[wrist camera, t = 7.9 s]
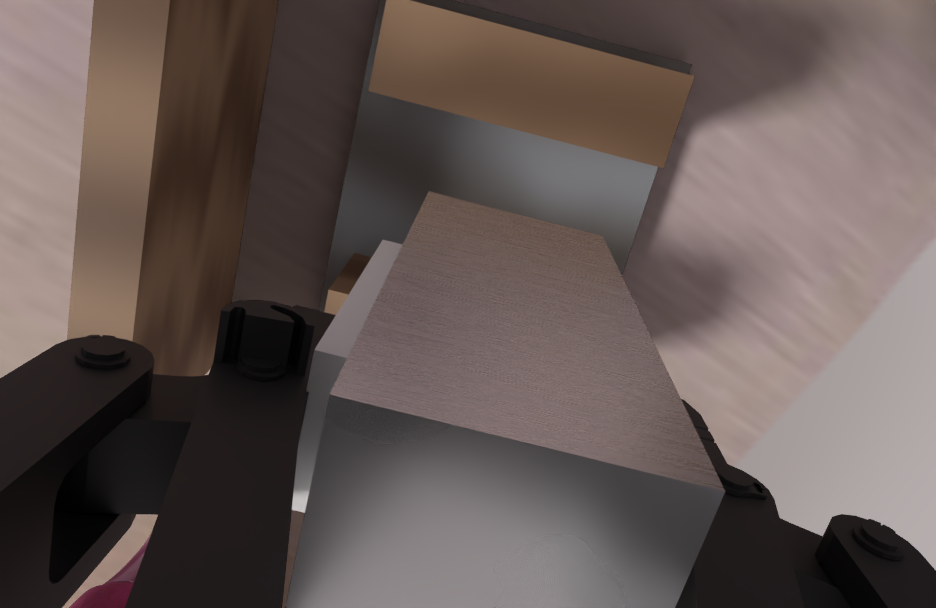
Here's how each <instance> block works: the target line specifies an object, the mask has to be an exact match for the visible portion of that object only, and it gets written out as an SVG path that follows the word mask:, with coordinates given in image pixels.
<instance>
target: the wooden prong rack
mask: <svg viewBox="0 0 936 608" xmlns="http://www.w3.org/2000/svg"><path fill="white" fill-rule="evenodd" d="M277 6H278V0H94V7H93V20H92V32H91V45H90V58H89V70H88V83H87V95H86V108H85V121H84V133H83V146H82V158H81V171H80V184H79V196H78V209H77V221H76V234H75V247H74V259H73V272H72V284H71V297H70V310H69V322H68V335H67V340H69V339H73V338H80V337H86V336H88V335H100V336H102V335H111V336H115V337H116V338H120V339H126V340H129V341H132V342H135V343H137V344H140V345H142V346H144V347H145V348H146V349H148V350H149V351H150V352H151V353H152V355H153V358H154V361H155V362H154V370H153V374H159V375H172V376H204V375H205V374H206V373H207V372H208V371H209V369H210V368H211V367H212V364H213V360H214V354H215V347H216V341H217V334H218V327H219V321H220V314H221V310H222V309H223V308H224V307H225V306H226V305H227V304H230V303H231V302H232V296H233V290H234V283H235V277H236V270H237V264H238V257H239V251H240V244H241V238H242V231H243V225H244V219H245V212H246V206H247V199H248V193H249V186H250V180H251V173H252V167H253V161H254V154H255V148H256V141H257V135H258V128H259V122H260V115H261V109H262V103H263V96H264V90H265V83H266V77H267V70H268V64H269V57H270V51H271V45H272V38H273V32H274V25H275V19H276V12H277ZM691 67H692V64H688V63H684V62H680V61H677V60H673V59H669V58H666V57H662V56H658V55H654V54H651V53H647V52H643V51H639V50H636V49H632V48H628V47H625V46H621V45H617V44H613V43H610V42H606V41H602V40H598V39H595V38H591V37H587V36H584V35H580V34H576V33H572V32H569V31H565V30H561V29H557V28H554V27H550V26H546V25H543V24H539V23H535V22H531V21H528V20H524V19H520V18H516V17H513V16H509V15H505V14H502V13H498V12H494V11H490V10H487V9H483V8H479V7H475V6H472V5H468V4H464V3H460V2H457V1H453V0H380V1H379V6H378V11H377V16H376V21H375V26H374V31H373V36H372V42H371V47H370V52H369V57H368V62H367V67H366V72H365V77H364V82H363V87H362V92H361V97H360V103H359V108H358V113H357V118H356V123H355V128H354V133H353V138H352V143H351V148H350V153H349V158H348V164H347V169H346V174H345V179H344V184H343V189H342V194H341V199H340V204H339V209H338V214H337V219H336V225H335V230H334V235H333V240H332V245H331V250H330V255H329V260H328V265H327V270H326V275H325V280H324V285H323V291H322V296H321V301H320V306H319V311H322V312H326V313H330V314H334V315H336V314H337V313H338V311H339V309H340V308H341V306H342V305H343V303H344V301H345V300H346V298H347V297H348V295H349V293H350V292H351V290H352V288H353V287H354V285H355V284H356V282H357V280H358V279H359V277H360V276H361V274H362V272H363V271H364V269H365V268H366V266H367V264H368V263H369V261H370V259H371V258H372V256H373V255H374V253H375V251H376V250H377V248H378V247H379V245H380V243H381V242H382V240H387V241H391V242H395V243H398V244H402V245H403V243H404V241H405V239H406V237H407V235H408V233H409V231H410V229H411V227H412V224H413V222H414V220H415V218H416V216H417V214H418V212H419V210H420V208H421V206H422V204H423V202H424V200H425V198H426V196H427V194H428V192H433V193H437V194H441V195H445V196H449V197H453V198H457V199H461V200H464V201H468V202H472V203H476V204H480V205H484V206H488V207H492V208H496V209H500V210H503V211H507V212H511V213H515V214H519V215H523V216H527V217H531V218H535V219H538V220H542V221H546V222H550V223H554V224H558V225H562V226H566V227H570V228H573V229H577V230H581V231H585V232H589V233H593V234H597V235H601V236H603V238H604V240H605V242H606V244H607V246H608V248H609V250H610V252H611V254H612V257H613V259H614V261H615V263H616V265H617V267H618V269H619V271H620V273H621V275H622V273H623V270H624V267H625V264H626V261H627V258H628V255H629V252H630V249H631V246H632V243H633V240H634V237H635V234H636V231H637V228H638V225H639V223H640V220H641V217H642V214H643V211H644V208H645V205H646V202H647V199H648V196H649V193H650V190H651V187H652V184H653V181H654V178H655V175H656V172H657V169H658V167H660V168H664V166H665V163H666V160H667V157H668V154H669V151H670V148H671V145H672V142H673V139H674V136H675V133H676V130H677V127H678V124H679V121H680V118H681V115H682V112H683V109H684V106H685V103H686V100H687V97H688V94H689V91H690V88H691V85H692V82H693V79H694V76H691V75H689V73H690V70H691Z"/></svg>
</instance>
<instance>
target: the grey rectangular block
mask: <svg viewBox="0 0 936 608" xmlns="http://www.w3.org/2000/svg"><path fill="white" fill-rule="evenodd" d="M724 494H725V490H724V487H723V485H722V483H721V481H720V479H719V477H718V475H717V473H716V471H715V469H714V467H713V465H712V462H711V460H710V458H709V456H708V454H707V452H706V450H705V448H704V446H703V444H702V442H701V440H700V438H699V435H698V433H697V431H696V429H695V427H694V425H693V423H692V421H691V419H690V417H689V415H688V413H687V410H686V408H685V406H684V404H683V402H682V400H681V398H680V396H679V394H678V392H677V390H676V388H675V386H674V383H673V381H672V379H671V377H670V375H669V373H668V371H667V369H666V367H665V365H664V363H663V361H662V358H661V356H660V354H659V352H658V350H657V348H656V346H655V344H654V342H653V340H652V338H651V336H650V334H649V331H648V329H647V327H646V325H645V323H644V321H643V319H642V317H641V315H640V313H639V311H638V309H637V306H636V304H635V302H634V300H633V298H632V296H631V294H630V292H629V290H628V288H627V286H626V284H625V282H624V279H623V277H622V275H621V273H620V271H619V269H618V267H617V265H616V263H615V261H614V259H613V257H612V254H611V252H610V250H609V248H608V246H607V244H606V242H605V240H604V238H603V236H601V235H597V234H593V233H589V232H585V231H581V230H577V229H573V228H570V227H566V226H562V225H558V224H554V223H550V222H546V221H542V220H538V219H535V218H531V217H527V216H523V215H519V214H515V213H511V212H507V211H503V210H500V209H496V208H492V207H488V206H484V205H480V204H476V203H472V202H468V201H464V200H461V199H457V198H453V197H449V196H445V195H441V194H437V193H433V192H428V194H427V196H426V198H425V200H424V202H423V204H422V206H421V208H420V210H419V212H418V214H417V216H416V218H415V220H414V222H413V224H412V227H411V229H410V231H409V233H408V235H407V237H406V239H405V241H404V243H403V245H402V247H401V249H400V251H399V253H398V255H397V257H396V259H395V261H394V263H393V265H392V267H391V269H390V272H389V274H388V276H387V278H386V280H385V282H384V284H383V286H382V288H381V290H380V292H379V294H378V296H377V298H376V300H375V302H374V304H373V306H372V308H371V310H370V312H369V315H368V317H367V319H366V321H365V323H364V325H363V327H362V329H361V331H360V333H359V335H358V337H357V339H356V341H355V343H354V345H353V347H352V349H351V351H350V353H349V355H348V357H347V360H346V362H345V364H344V366H343V368H342V370H341V372H340V374H339V376H338V378H337V380H336V382H335V384H334V386H333V388H332V390H331V392H330V394H329V399H328V404H327V409H326V413H325V418H324V423H323V428H322V433H321V437H320V442H319V447H318V452H317V457H316V462H315V466H314V471H313V476H312V481H311V486H310V490H309V495H308V500H307V505H306V510H305V515H304V519H303V524H302V529H301V534H300V539H299V544H298V548H297V553H296V558H295V563H294V568H293V572H292V577H291V582H290V587H289V592H288V597H287V601H286V606H285V608H675V607H676V604H677V602H678V600H679V597H680V595H681V593H682V591H683V588H684V586H685V584H686V581H687V579H688V577H689V574H690V572H691V570H692V567H693V565H694V563H695V561H696V558H697V556H698V554H699V551H700V549H701V547H702V544H703V542H704V540H705V537H706V535H707V533H708V530H709V528H710V526H711V524H712V521H713V519H714V517H715V514H716V512H717V510H718V507H719V505H720V503H721V500H722V498H723V496H724Z"/></svg>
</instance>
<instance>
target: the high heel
mask: <svg viewBox="0 0 936 608" xmlns="http://www.w3.org/2000/svg"><path fill="white" fill-rule="evenodd" d="M151 533H152V532H151ZM150 536H151V534H150ZM150 536H149V538H148V539H147V541H146V542H145V544H144V545H143V546H142V547H141V549H140V550H139V551H138V552H137V554H136V555H135V556H134V557H133V558H132V559H131V560H130V561H129V562H128V563H127V565H126V566H125V567H124V568H123V569H121V570H120V571H119V572H118V573H117V574H116V575H115V576H114V577H112V578H111V579H110V580H109V581H107V582H106V583H105V584H103V585H100V586H96V587H93V588H91V589H89V590H88V591H86V592H85V593H84V594H83V595H81V596H80V597H79V598H78V599H77V600H76V601H75V602H74V603H73V604H72V605H71V606H70V607H69V608H125V606H126V603H127V600H128V597H129V594H130V592H131V589H132V586H133V583H134V581H135V578H136V575H137V572H138V570H139V567H140V564H141V561H142V558H143V556H144V553H145V550H146V547H147V545H148V542H149V539H150Z"/></svg>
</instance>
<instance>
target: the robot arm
mask: <svg viewBox="0 0 936 608" xmlns="http://www.w3.org/2000/svg"><path fill="white" fill-rule="evenodd" d="M401 247H402V244H398V243H395V242H391V241H387V240H382V242H381V243H380V245H379V247H378V248H377V250H376V251H375V253H374V255H373V256H372V258H371V259H370V261H369V263H368V264H367V266H366V268H365V269H364V271H363V272H362V274H361V276H360V277H359V279H358V280H357V282H356V284H355V285H354V287H353V288H352V290H351V292H350V293H349V295H348V297H347V298H346V300H345V301H344V303H343V305H342V306H341V308H340V309H339V311H338V313H337V314H336V315H334V314H330V313H326V312H322V311H318V310H314V309H310V308H306V307H302V306H298V305H297V306H294V307H291V306H288V305H284V304H280V303H276V302H271V301H261V300H245V301H237V302H234V303H230V304H227V305H226V306H225V307H224V308H223V309H222V310H221V314H220V321H219V327H218V334H217V341H216V347H215V354H214V360H213V364H212V367H211V370H210V373H209V375H205V376H172V375H159V374H153V370H154V362H155V361H154V358H153V355H152V353H151V352H150V351H149V350H148V349H146V348H145V347H144V346H142V345H140V344H137V343H135V342H132V341H129V340H126V339H120V338H116V337H115V336H111V335H102V336H100V335H88V336H86V337H80V338H73V339H69V340H66V341H64V342H61V343H59V344H56V345H54V346H53V347H51V348H50V349H48V350H46V351H45V352H43V353H41V354H40V355H38V356H36V357H35V358H33V359H32V360H30V361H28V362H27V363H25V364H23V365H22V366H20V367H18V368H17V369H15V370H13V371H12V372H10V373H9V374H7V375H5V376H4V377H2V378H0V608H62V607H63V606H64V605H65V603H66V602H67V601H68V600H69V599H70V598H71V596H72V595H73V594H74V593H75V592H76V591H77V589H78V588H79V587H80V586H81V585H82V583H83V582H84V581H85V580H86V579H87V578H88V576H89V575H90V574H91V573H92V572H93V570H94V569H95V568H96V567H97V566H98V565H99V563H100V562H101V561H102V560H103V559H104V557H105V556H106V555H107V554H108V553H109V552H110V550H111V549H112V548H113V547H114V546H115V545H116V543H117V542H118V541H119V540H120V539H121V537H122V536H123V535H124V534H125V533H126V532H127V530H128V529H129V528H130V527H131V525H132V522H133V520H134V518H135V516H136V514H158V517H157V520H156V522H155V525H154V528H153V531H152V533H151V536H150V539H149V542H148V545H147V547H146V550H145V553H144V556H143V558H142V561H141V564H140V567H139V570H138V572H137V575H136V578H135V581H134V583H133V586H132V589H131V592H130V594H129V597H128V600H127V603H126V606H125V608H282V602H283V592H284V582H285V572H286V562H287V552H288V541H289V531H290V521H291V511H292V510H295V511H299V512H303V513H305V510H306V505H307V500H308V495H309V490H310V486H311V481H312V476H313V471H314V466H315V462H316V457H317V452H318V447H319V442H320V437H321V433H322V428H323V423H324V418H325V413H326V409H327V404H328V399H329V394H330V392H331V390H332V388H333V386H334V384H335V382H336V380H337V378H338V376H339V374H340V372H341V370H342V368H343V366H344V364H345V362H346V360H347V357H348V355H349V353H350V351H351V349H352V347H353V345H354V343H355V341H356V339H357V337H358V335H359V333H360V331H361V329H362V327H363V325H364V323H365V321H366V319H367V317H368V315H369V312H370V310H371V308H372V306H373V304H374V302H375V300H376V298H377V296H378V294H379V292H380V290H381V288H382V286H383V284H384V282H385V280H386V278H387V276H388V274H389V272H390V269H391V267H392V265H393V263H394V261H395V259H396V257H397V255H398V253H399V251H400V249H401ZM681 400H682V399H681ZM682 402H683V404H684V406H685V408H686V410H687V413H688V415H689V417H690V419H691V421H692V423H693V425H694V427H695V429H696V431H697V433H698V435H699V438H700V440H701V442H702V444H703V446H704V448H705V450H706V452H707V454H708V456H709V458H710V460H711V462H712V465H713V467H714V469H715V471H716V473H717V475H718V477H719V479H720V481H721V483H722V485H723V487H724V490H725V494H724V496H723V498H722V500H721V503H720V505H719V507H718V510H717V512H716V514H715V517H714V519H713V521H712V524H711V526H710V528H709V530H708V533H707V535H706V537H705V540H704V542H703V544H702V547H701V549H700V551H699V554H698V556H697V558H696V561H695V563H694V565H693V567H692V570H691V572H690V574H689V577H688V579H687V581H686V584H685V586H684V588H683V591H682V593H681V595H680V597H679V600H678V602H677V604H676V607H675V608H936V570H934V568H933V567H932V566H931V565H930V564H929V563H928V561H927V560H926V559H925V558H924V557H923V556H922V555H921V553H920V552H919V551H918V550H916V549H915V548H914V547H913V546H912V545H911V544H910V543H909V542H908V541H906V540H905V539H903V538H902V537H900V536H899V535H897V534H896V533H895V531H894V530H893V529H891V528H889V527H887V526H885V525H883V526H881V523H879V522H876V521H874V520H871V519H868V520H866V519H863V518H860V517H857V516H851V515H843V514H841V515H837V516H834V517H832V519H831V521H830V523H829V525H828V527H827V529H826V531H825V533H824V535H823V536H820V535H818V534H815V533H813V532H810V531H808V530H806V529H803V528H801V527H799V526H796V525H794V524H791V523H789V522H787V521H785V520H783V519H780V518H779V515H778V511H777V508H776V504H775V500H774V498H773V497H772V495H771V493H770V491H769V490H768V489H767V488H766V487H765V486H764V485H763V484H762V483H760V482H759V481H758V480H757V479H755V478H753V477H752V476H750V475H749V474H747V473H745V472H744V471H742V470H740V469H737V468H735V467H733V466H730V465H728V464H727V463H726V461H725V459H724V457H723V455H722V453H721V452H720V450H719V448H718V446H717V444H716V443H714V439H713V437H712V435H711V433H710V432H709V431H708V427H707V426H706V424H705V422H704V420H703V418H702V416H701V415H700V414H699V413H698V412H697V411H696V410H695V409H694V408H692V407H691V406H690V405H689V404H688V403H687V402H686V401H684V400H682Z"/></svg>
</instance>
